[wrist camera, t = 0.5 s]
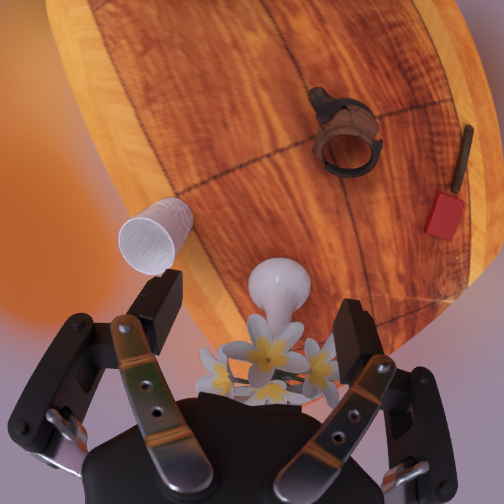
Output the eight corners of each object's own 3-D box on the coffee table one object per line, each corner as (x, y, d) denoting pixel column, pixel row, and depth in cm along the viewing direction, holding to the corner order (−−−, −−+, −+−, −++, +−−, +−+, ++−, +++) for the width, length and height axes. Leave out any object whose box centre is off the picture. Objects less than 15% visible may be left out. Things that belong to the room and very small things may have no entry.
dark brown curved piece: (389, 128, 31) (400, 164, 27) (337, 156, 38) (337, 194, 33) (334, 62, 25) (337, 84, 21) (280, 101, 32) (271, 132, 28)
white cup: (176, 182, 37) (146, 204, 28) (207, 225, 40) (187, 258, 31) (141, 210, 40) (107, 238, 31) (170, 249, 43) (145, 284, 34)
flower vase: (342, 295, 44) (373, 431, 22) (237, 309, 47) (209, 441, 25) (338, 224, 38) (395, 361, 16) (216, 244, 41) (156, 380, 19)
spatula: (454, 117, 27) (459, 117, 26) (479, 131, 27) (485, 133, 26) (423, 231, 37) (427, 235, 35) (448, 238, 37) (453, 242, 35)
